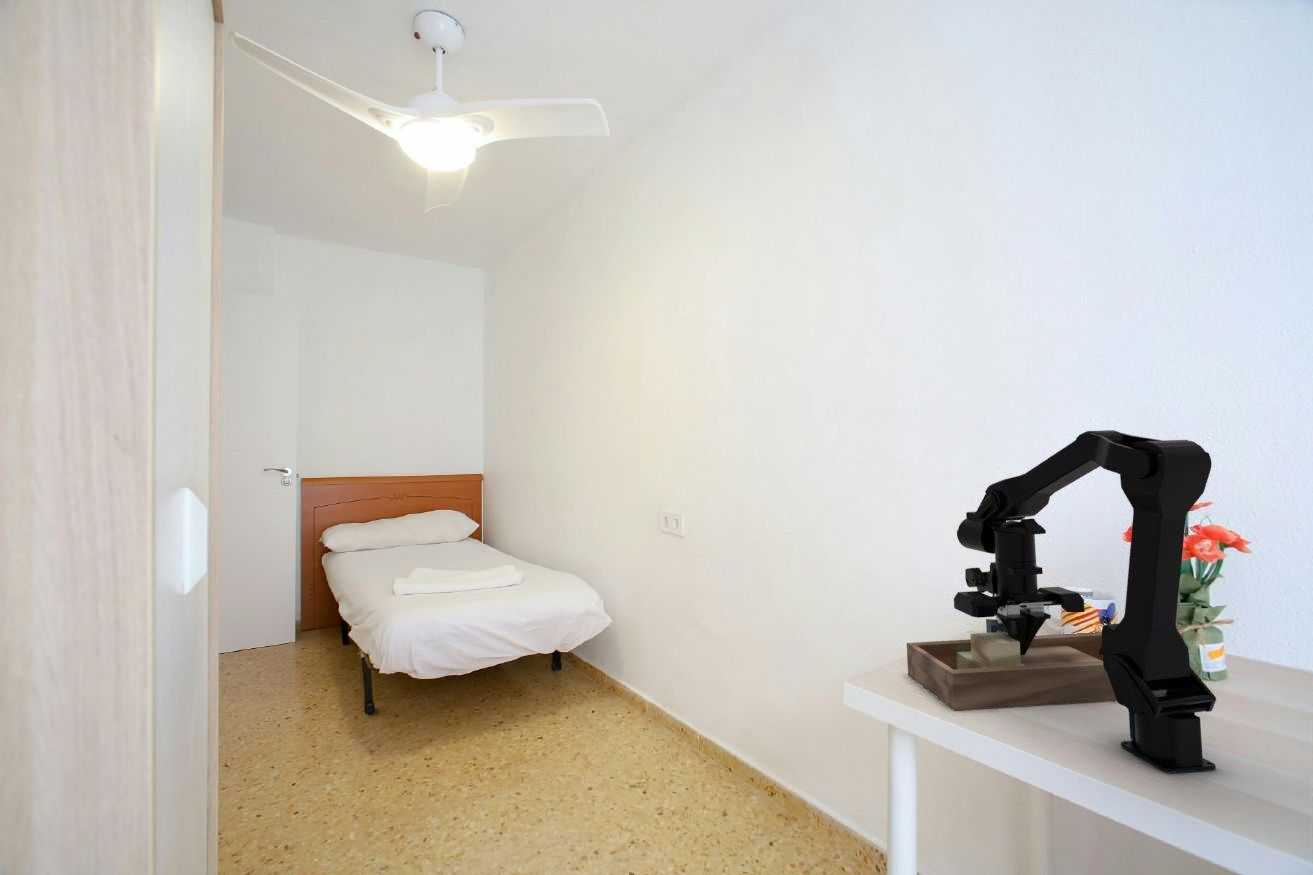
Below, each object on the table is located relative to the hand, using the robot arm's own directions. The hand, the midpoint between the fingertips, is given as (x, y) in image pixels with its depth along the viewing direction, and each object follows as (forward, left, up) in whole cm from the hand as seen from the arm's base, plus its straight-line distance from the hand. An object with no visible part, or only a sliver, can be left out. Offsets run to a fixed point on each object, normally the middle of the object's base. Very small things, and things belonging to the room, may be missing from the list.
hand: (1020, 654), depth 93 cm
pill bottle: (+19, -26, -5) cm, 33 cm away
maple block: (0, +4, -1) cm, 4 cm away
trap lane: (0, -2, -5) cm, 6 cm away
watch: (+22, -12, -5) cm, 26 cm away
